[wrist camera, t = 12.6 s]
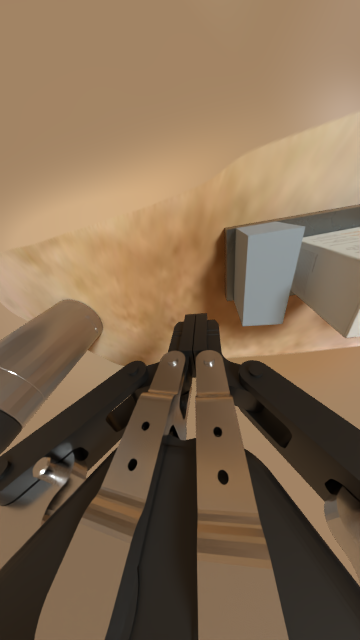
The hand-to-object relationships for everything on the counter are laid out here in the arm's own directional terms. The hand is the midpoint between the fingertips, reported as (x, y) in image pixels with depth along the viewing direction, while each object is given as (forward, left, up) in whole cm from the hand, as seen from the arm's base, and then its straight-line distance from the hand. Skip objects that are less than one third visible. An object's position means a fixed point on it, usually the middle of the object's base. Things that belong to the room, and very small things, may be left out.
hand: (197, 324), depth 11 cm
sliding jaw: (+6, 0, -11) cm, 13 cm away
